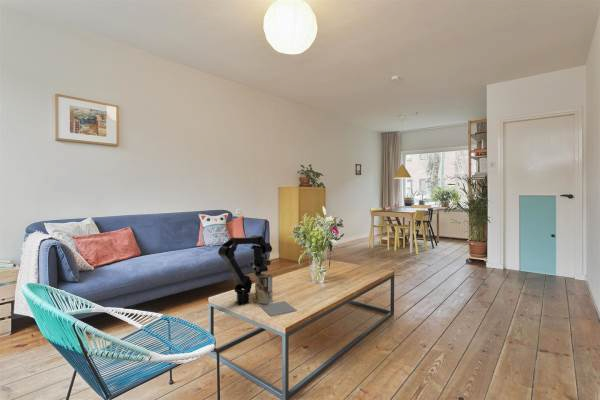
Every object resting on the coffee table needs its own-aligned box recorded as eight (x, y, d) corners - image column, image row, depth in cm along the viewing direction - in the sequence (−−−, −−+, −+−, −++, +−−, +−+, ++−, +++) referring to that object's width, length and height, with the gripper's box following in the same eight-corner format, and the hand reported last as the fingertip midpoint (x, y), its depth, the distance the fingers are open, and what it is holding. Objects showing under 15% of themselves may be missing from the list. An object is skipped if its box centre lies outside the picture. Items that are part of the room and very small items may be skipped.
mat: (270, 316, 163) (270, 316, 163) (259, 306, 177) (259, 305, 177) (296, 310, 170) (296, 310, 170) (284, 301, 184) (284, 301, 184)
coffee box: (273, 300, 186) (273, 274, 185) (268, 304, 180) (268, 277, 179) (259, 298, 189) (259, 273, 188) (254, 302, 183) (254, 276, 182)
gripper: (275, 256, 188) (275, 281, 188) (263, 251, 204) (264, 274, 205) (258, 258, 182) (258, 284, 183) (248, 253, 199) (248, 276, 199)
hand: (258, 279), depth 193 cm, fingers closed
